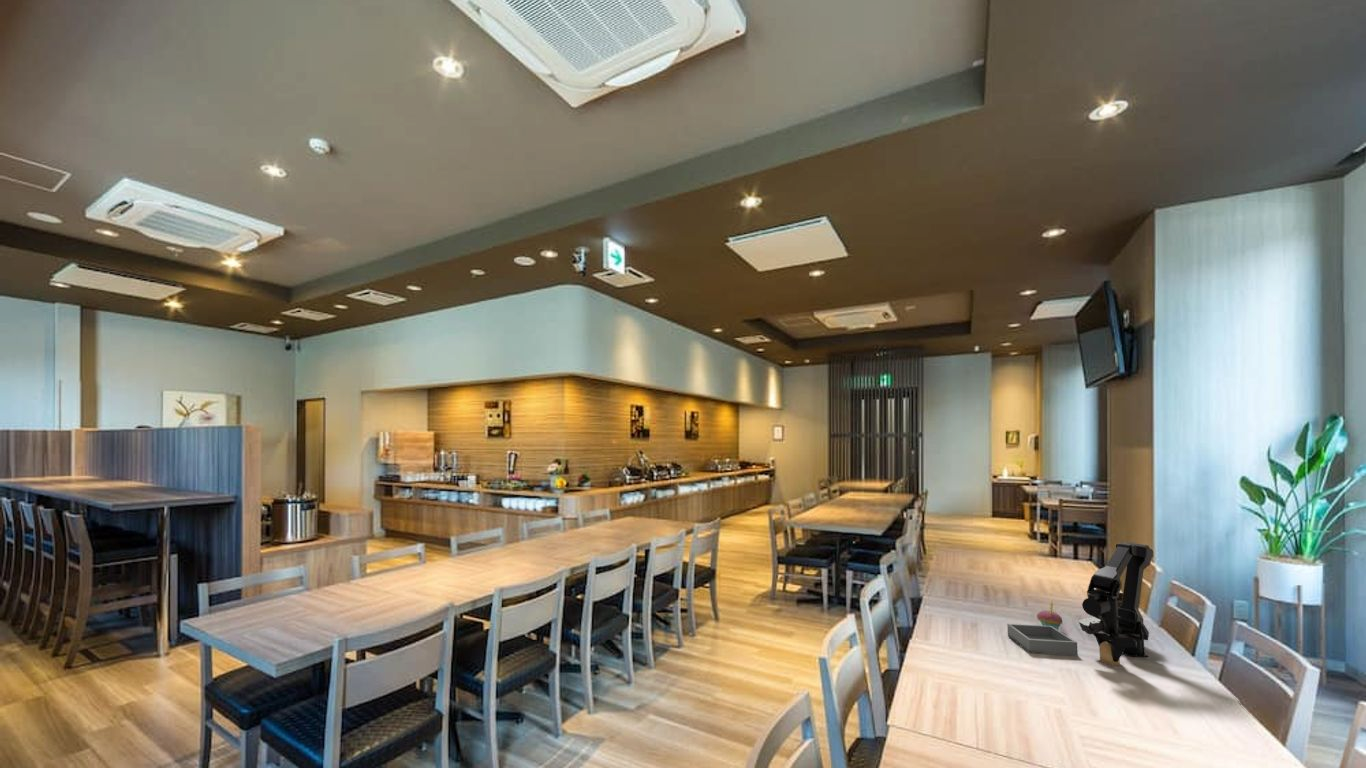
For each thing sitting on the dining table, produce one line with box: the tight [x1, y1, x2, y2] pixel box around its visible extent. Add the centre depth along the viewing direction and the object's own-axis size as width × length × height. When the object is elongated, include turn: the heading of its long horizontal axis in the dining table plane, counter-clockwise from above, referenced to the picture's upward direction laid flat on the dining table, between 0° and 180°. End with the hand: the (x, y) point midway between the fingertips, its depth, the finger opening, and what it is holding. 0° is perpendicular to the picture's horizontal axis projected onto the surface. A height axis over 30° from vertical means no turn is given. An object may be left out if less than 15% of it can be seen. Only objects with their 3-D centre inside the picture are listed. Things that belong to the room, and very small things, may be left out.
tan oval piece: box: [1098, 641, 1121, 666], centre depth 186 cm, size 5×5×7 cm
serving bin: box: [1006, 623, 1079, 656], centre depth 199 cm, size 16×16×4 cm
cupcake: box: [1036, 601, 1063, 630], centre depth 215 cm, size 9×8×12 cm
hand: (1109, 658), depth 186 cm, fingers closed on tan oval piece, 5 cm apart
